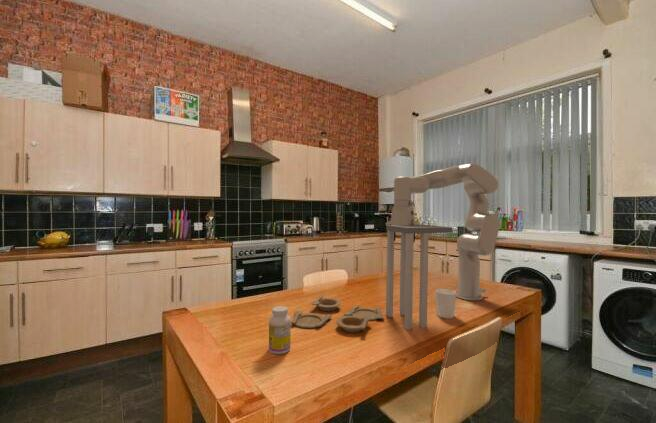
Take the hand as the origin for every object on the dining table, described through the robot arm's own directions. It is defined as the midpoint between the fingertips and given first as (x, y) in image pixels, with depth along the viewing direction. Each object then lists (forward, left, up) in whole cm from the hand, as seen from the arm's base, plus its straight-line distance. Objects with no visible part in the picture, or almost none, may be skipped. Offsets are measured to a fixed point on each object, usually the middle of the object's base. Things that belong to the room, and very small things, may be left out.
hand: (402, 242), depth 135 cm
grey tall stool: (+4, +17, -29) cm, 34 cm away
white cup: (-10, +17, -29) cm, 35 cm away
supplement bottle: (+60, +25, -29) cm, 71 cm away
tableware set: (+33, +6, -29) cm, 45 cm away
